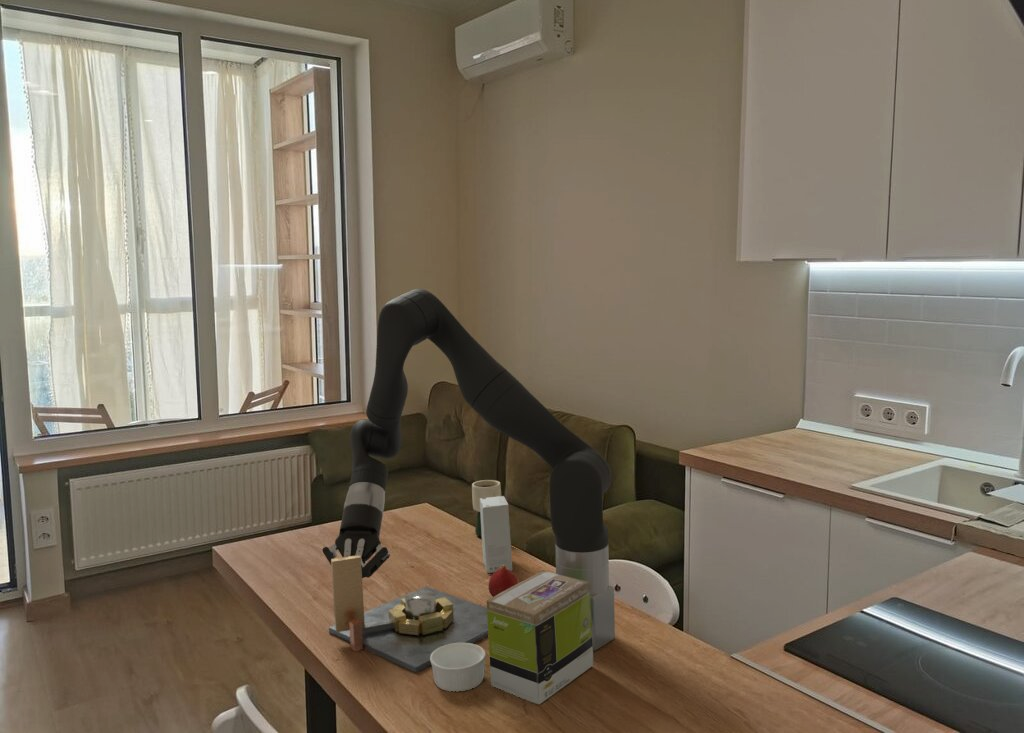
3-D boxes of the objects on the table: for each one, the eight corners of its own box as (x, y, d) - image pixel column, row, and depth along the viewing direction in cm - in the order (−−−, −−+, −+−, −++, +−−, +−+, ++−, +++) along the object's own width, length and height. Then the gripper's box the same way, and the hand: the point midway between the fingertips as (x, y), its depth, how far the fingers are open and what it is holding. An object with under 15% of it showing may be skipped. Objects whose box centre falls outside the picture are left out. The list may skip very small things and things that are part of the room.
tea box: (545, 650, 138) (543, 567, 136) (594, 667, 132) (593, 580, 130) (488, 687, 127) (484, 597, 125) (539, 707, 120) (536, 613, 118)
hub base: (513, 622, 149) (512, 591, 148) (408, 677, 130) (406, 642, 130) (426, 590, 165) (425, 562, 164) (321, 635, 146) (319, 604, 146)
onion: (483, 607, 156) (482, 567, 155) (498, 596, 161) (496, 557, 160) (510, 612, 154) (508, 572, 153) (523, 600, 159) (522, 561, 158)
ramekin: (436, 699, 124) (435, 672, 123) (427, 671, 132) (425, 646, 132) (492, 689, 126) (491, 663, 126) (479, 663, 135) (478, 638, 134)
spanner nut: (453, 605, 155) (450, 534, 153) (454, 632, 143) (450, 556, 141) (342, 612, 153) (337, 541, 151) (333, 641, 141) (329, 564, 139)
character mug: (513, 536, 197) (511, 484, 195) (490, 543, 192) (488, 490, 191) (485, 526, 205) (484, 476, 204) (463, 533, 201) (461, 482, 199)
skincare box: (512, 571, 174) (510, 505, 172) (485, 574, 173) (482, 507, 172) (507, 558, 182) (505, 494, 181) (481, 560, 182) (478, 496, 180)
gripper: (400, 520, 158) (388, 606, 147) (335, 520, 159) (318, 605, 148) (393, 502, 152) (379, 590, 141) (324, 502, 153) (306, 589, 142)
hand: (348, 598), depth 145 cm, fingers closed
